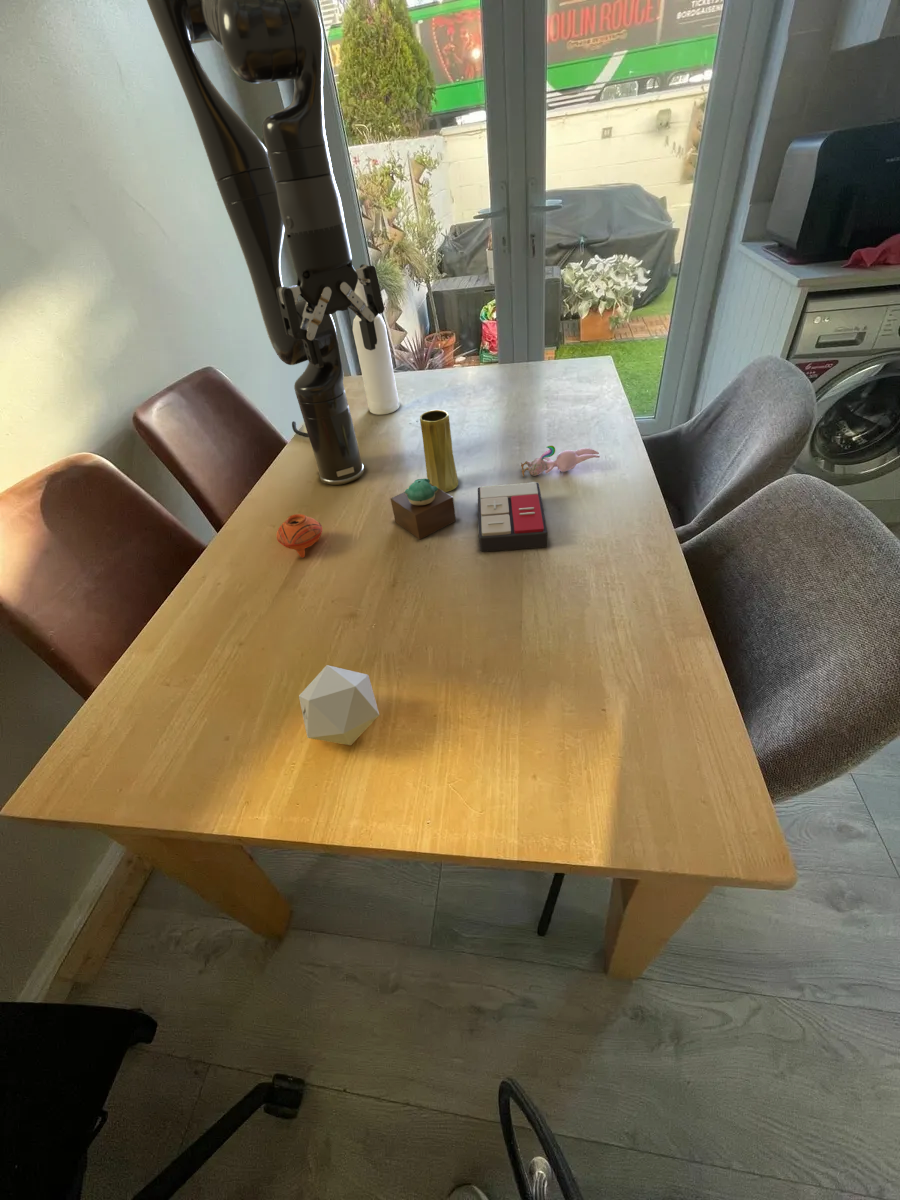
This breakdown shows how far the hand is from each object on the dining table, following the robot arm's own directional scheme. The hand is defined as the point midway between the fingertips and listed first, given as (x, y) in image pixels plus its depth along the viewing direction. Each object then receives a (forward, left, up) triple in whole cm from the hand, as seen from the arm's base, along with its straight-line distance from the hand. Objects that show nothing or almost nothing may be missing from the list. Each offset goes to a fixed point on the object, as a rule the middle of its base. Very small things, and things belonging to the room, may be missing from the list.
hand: (344, 357), depth 79 cm
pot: (-6, -13, -30) cm, 34 cm away
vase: (-5, +17, -30) cm, 35 cm away
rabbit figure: (+8, +36, -30) cm, 48 cm away
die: (+33, -26, -30) cm, 52 cm away
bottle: (-48, +30, -30) cm, 64 cm away
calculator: (+15, +17, -30) cm, 38 cm away
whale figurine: (+3, +7, -25) cm, 26 cm away
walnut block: (+3, +7, -30) cm, 31 cm away
